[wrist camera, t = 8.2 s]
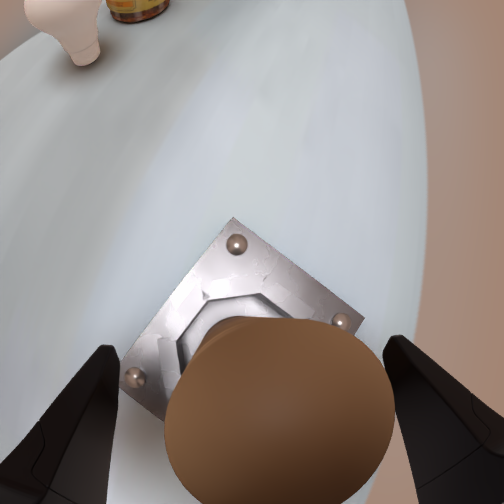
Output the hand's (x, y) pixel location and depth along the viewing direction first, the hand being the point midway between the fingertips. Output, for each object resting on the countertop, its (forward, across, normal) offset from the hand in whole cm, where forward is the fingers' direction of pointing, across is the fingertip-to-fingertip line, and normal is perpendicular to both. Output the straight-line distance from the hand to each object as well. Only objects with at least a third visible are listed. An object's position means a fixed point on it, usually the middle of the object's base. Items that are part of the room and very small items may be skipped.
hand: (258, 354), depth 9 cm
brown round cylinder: (+5, 0, +6) cm, 8 cm away
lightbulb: (+22, +13, -9) cm, 27 cm away
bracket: (+6, 0, +7) cm, 9 cm away
